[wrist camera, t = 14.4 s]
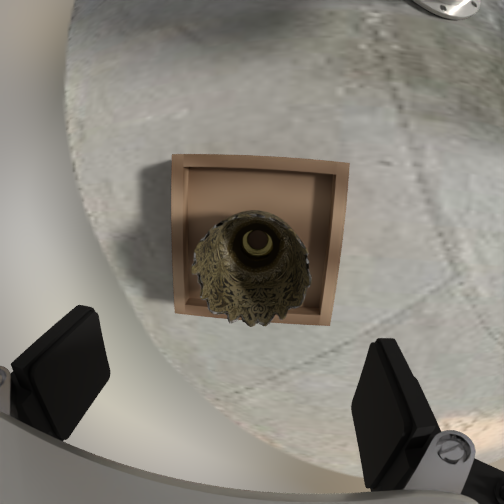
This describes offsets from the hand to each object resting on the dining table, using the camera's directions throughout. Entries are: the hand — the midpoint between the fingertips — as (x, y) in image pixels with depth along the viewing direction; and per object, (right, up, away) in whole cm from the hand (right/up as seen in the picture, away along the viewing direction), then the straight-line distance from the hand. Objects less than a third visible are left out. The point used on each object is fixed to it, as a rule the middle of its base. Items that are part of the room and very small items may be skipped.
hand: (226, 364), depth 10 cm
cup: (+1, +5, +17) cm, 18 cm away
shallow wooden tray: (+2, +6, +21) cm, 22 cm away
